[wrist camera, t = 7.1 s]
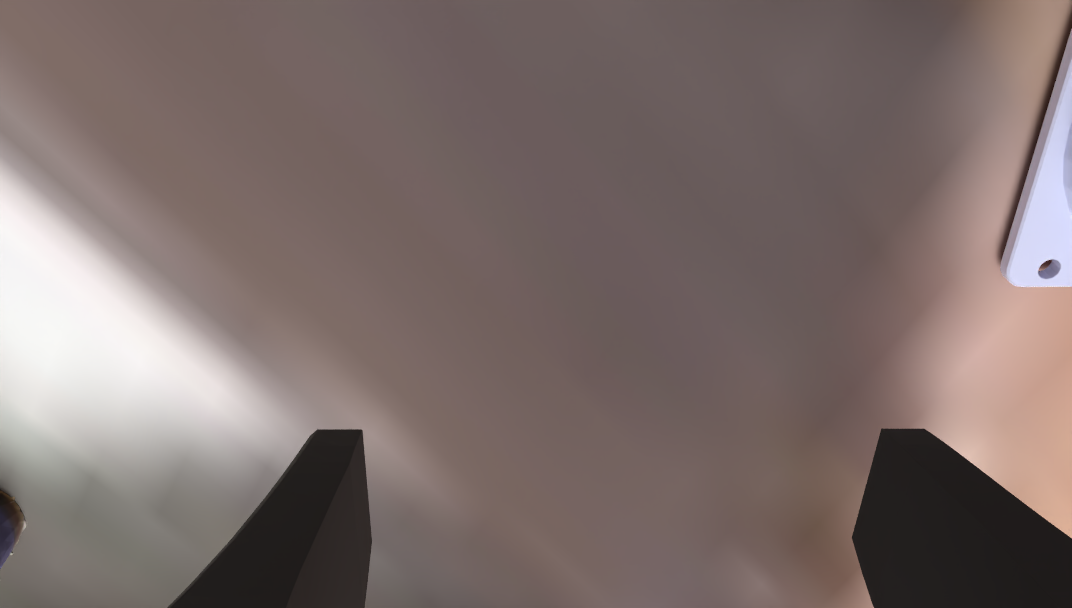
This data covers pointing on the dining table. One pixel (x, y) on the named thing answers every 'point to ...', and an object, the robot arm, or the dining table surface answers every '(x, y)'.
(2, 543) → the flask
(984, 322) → the dining table surface
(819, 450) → the dining table surface
